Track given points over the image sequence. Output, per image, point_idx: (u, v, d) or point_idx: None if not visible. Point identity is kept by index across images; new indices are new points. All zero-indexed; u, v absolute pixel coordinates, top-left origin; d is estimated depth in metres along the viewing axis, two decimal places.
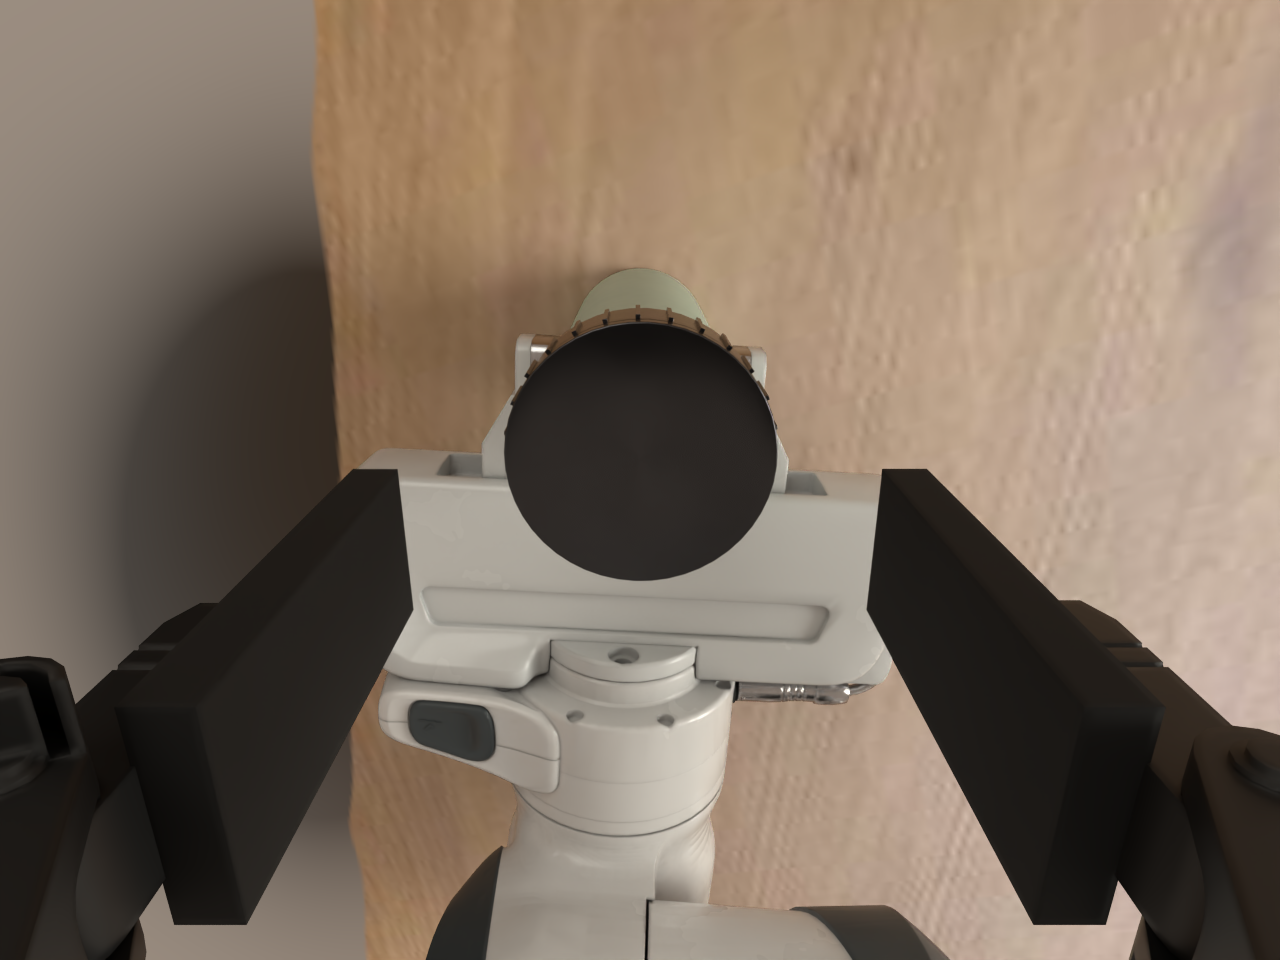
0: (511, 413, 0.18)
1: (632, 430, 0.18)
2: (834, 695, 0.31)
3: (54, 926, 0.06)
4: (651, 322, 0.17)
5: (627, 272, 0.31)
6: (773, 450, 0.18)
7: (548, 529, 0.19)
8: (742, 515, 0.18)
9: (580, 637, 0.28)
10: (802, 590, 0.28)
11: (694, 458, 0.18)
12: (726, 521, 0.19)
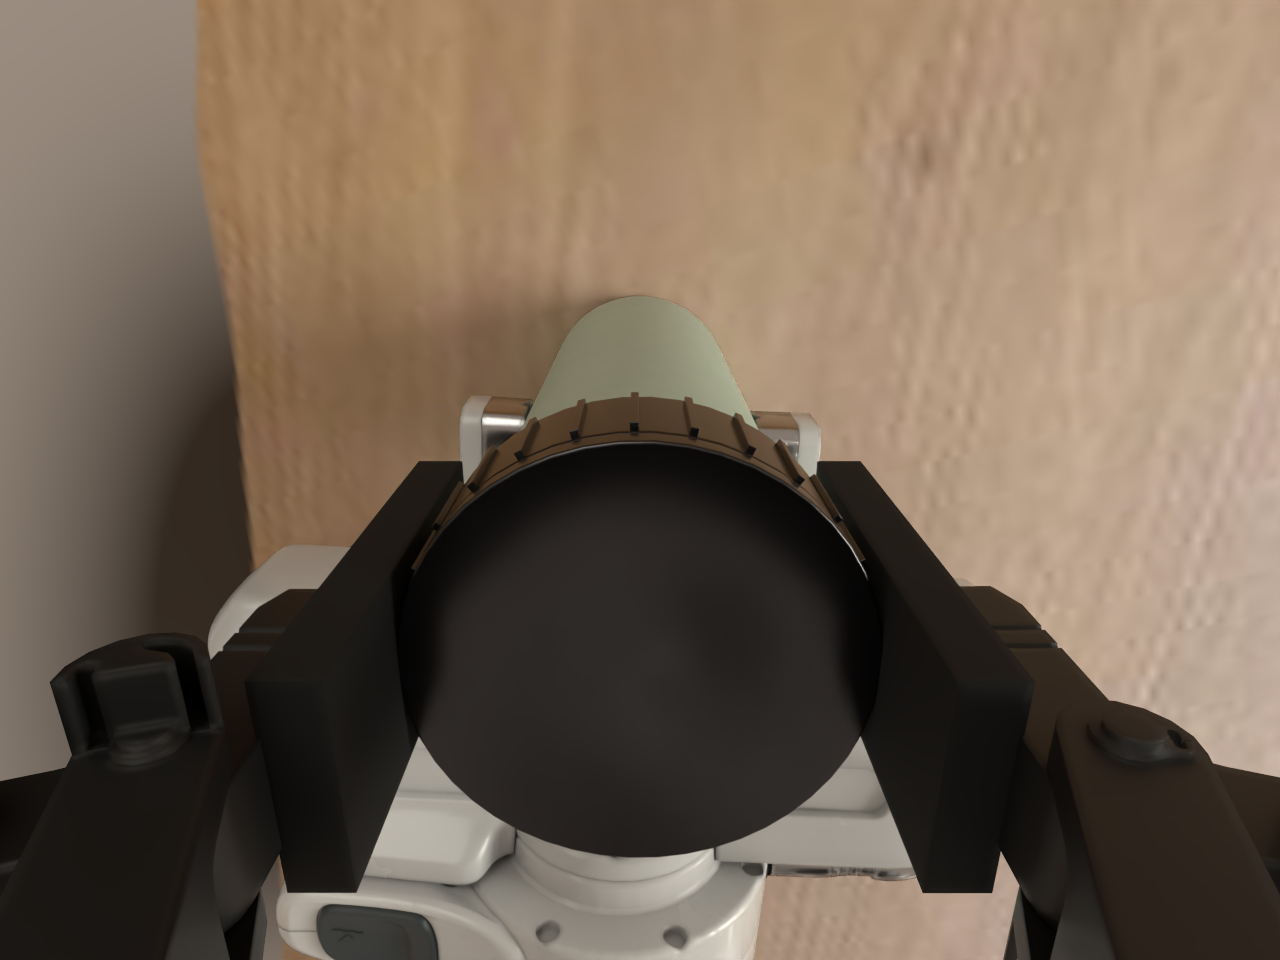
0: (406, 597, 0.10)
1: (624, 625, 0.10)
2: (900, 870, 0.23)
3: (198, 895, 0.06)
4: (659, 441, 0.09)
5: (622, 302, 0.23)
6: (875, 658, 0.10)
7: (479, 781, 0.11)
8: (816, 759, 0.11)
9: None
10: (865, 751, 0.20)
11: (734, 670, 0.10)
12: (787, 768, 0.11)
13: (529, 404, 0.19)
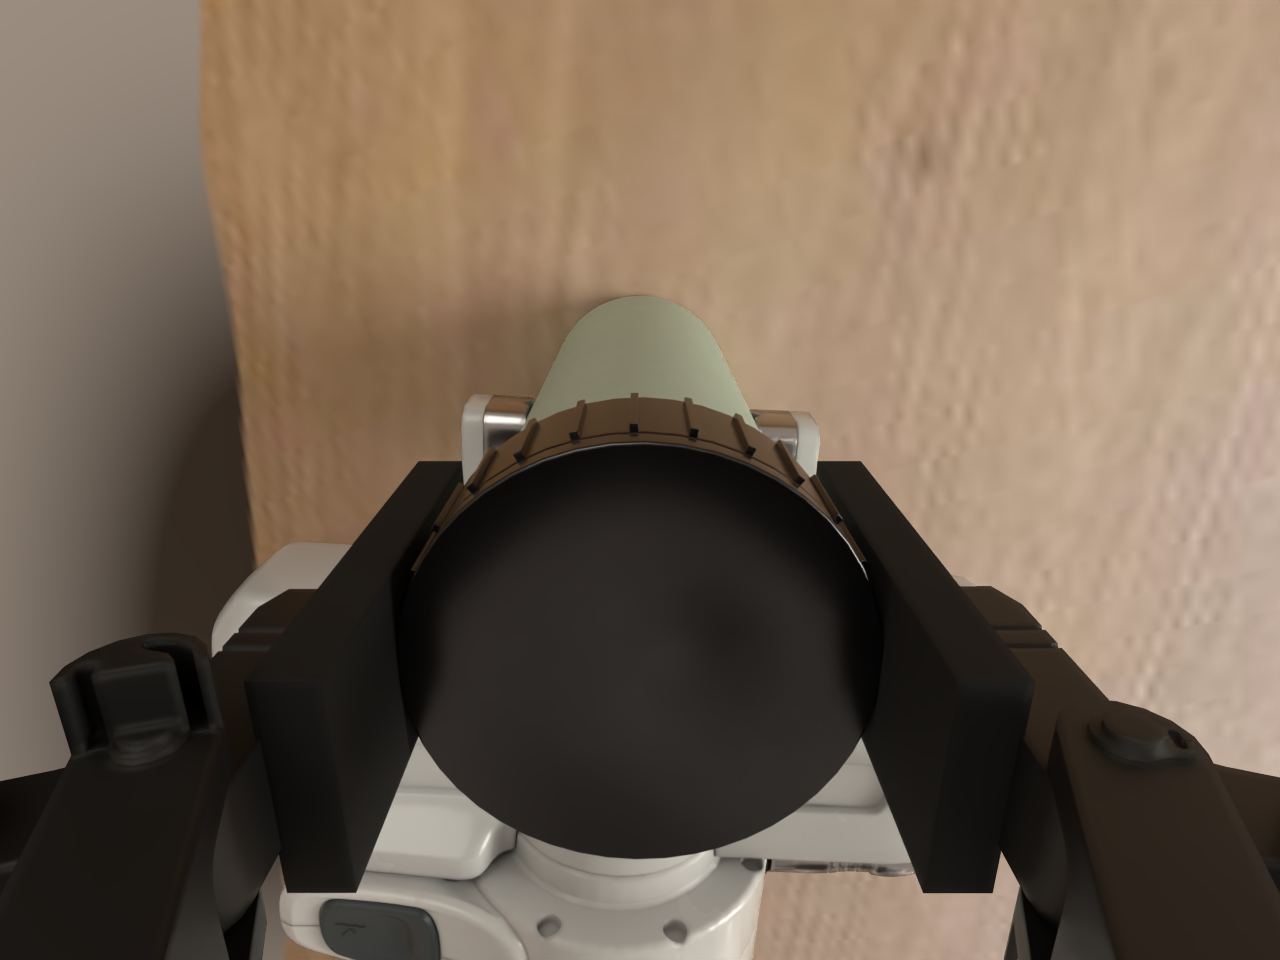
0: (625, 858, 0.11)
1: (593, 698, 0.10)
2: (899, 866, 0.23)
3: (198, 893, 0.06)
4: (410, 716, 0.10)
5: (622, 302, 0.23)
6: (547, 467, 0.09)
7: (809, 774, 0.11)
8: (694, 478, 0.09)
9: None
10: (864, 746, 0.20)
11: (609, 593, 0.10)
12: (715, 502, 0.09)
13: (530, 402, 0.19)
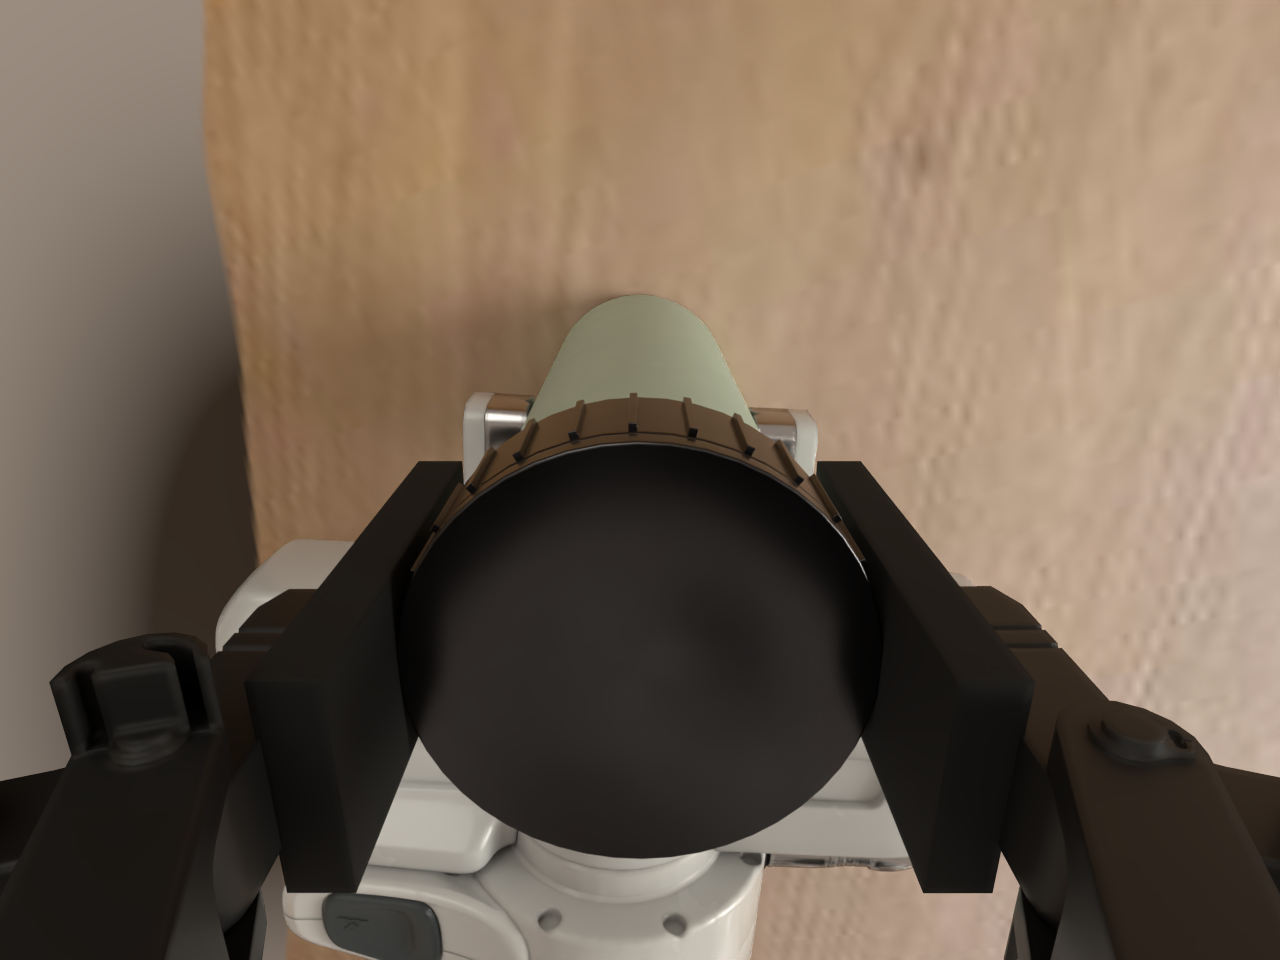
0: (879, 626, 0.10)
1: (681, 704, 0.10)
2: (897, 861, 0.23)
3: (198, 895, 0.06)
4: (748, 835, 0.11)
5: (623, 301, 0.23)
6: (465, 789, 0.11)
7: (712, 481, 0.09)
8: (427, 684, 0.10)
9: None
10: (862, 741, 0.20)
11: (563, 718, 0.10)
12: (442, 662, 0.10)
13: (531, 400, 0.19)
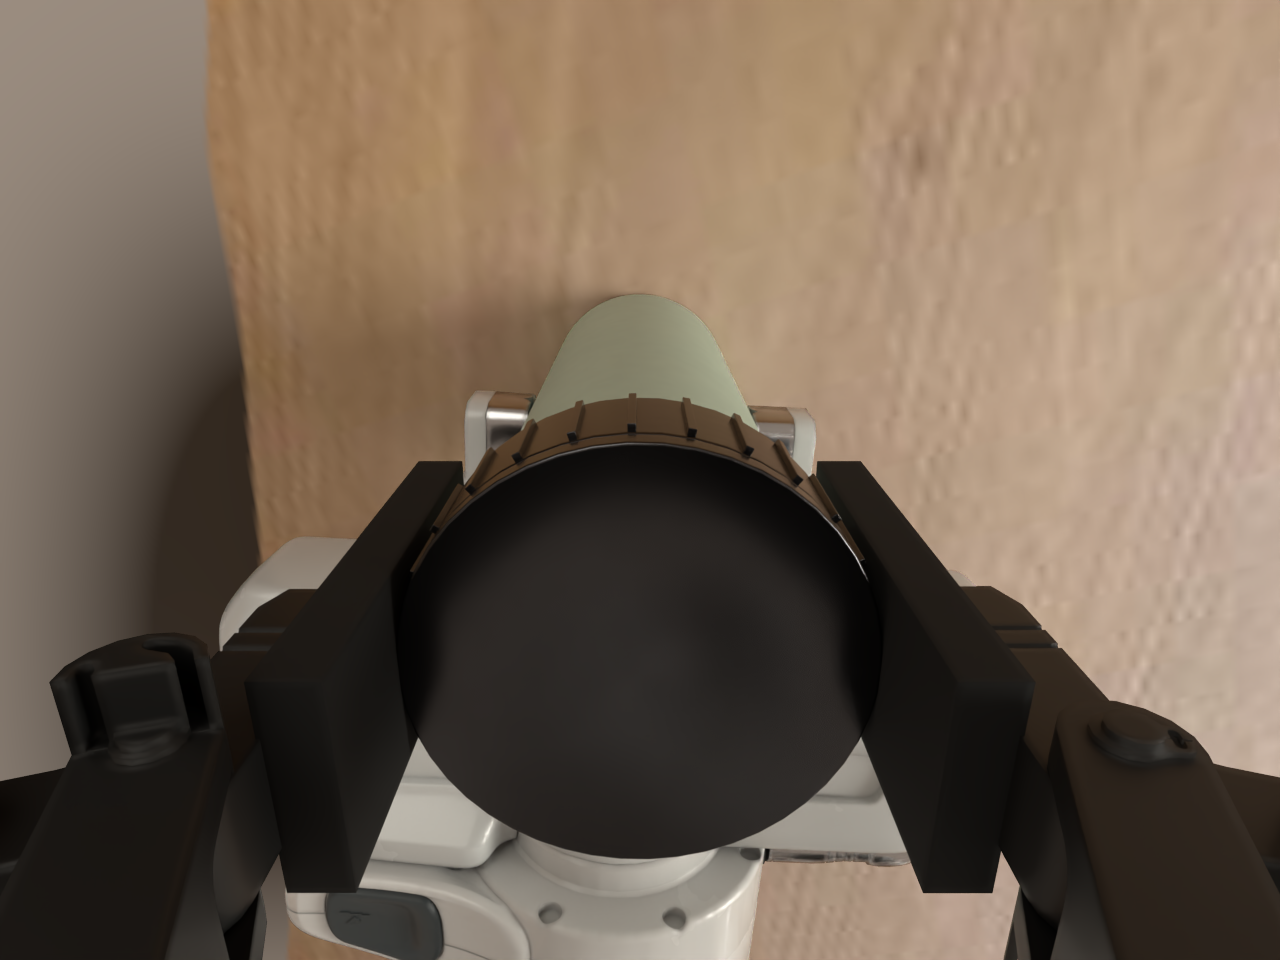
0: (507, 478, 0.09)
1: (662, 629, 0.10)
2: (895, 856, 0.23)
3: (198, 893, 0.06)
4: (819, 511, 0.09)
5: (623, 300, 0.23)
6: (820, 783, 0.11)
7: (422, 671, 0.10)
8: (707, 830, 0.11)
9: None
10: None
11: (711, 722, 0.10)
12: (680, 824, 0.11)
13: (532, 399, 0.19)
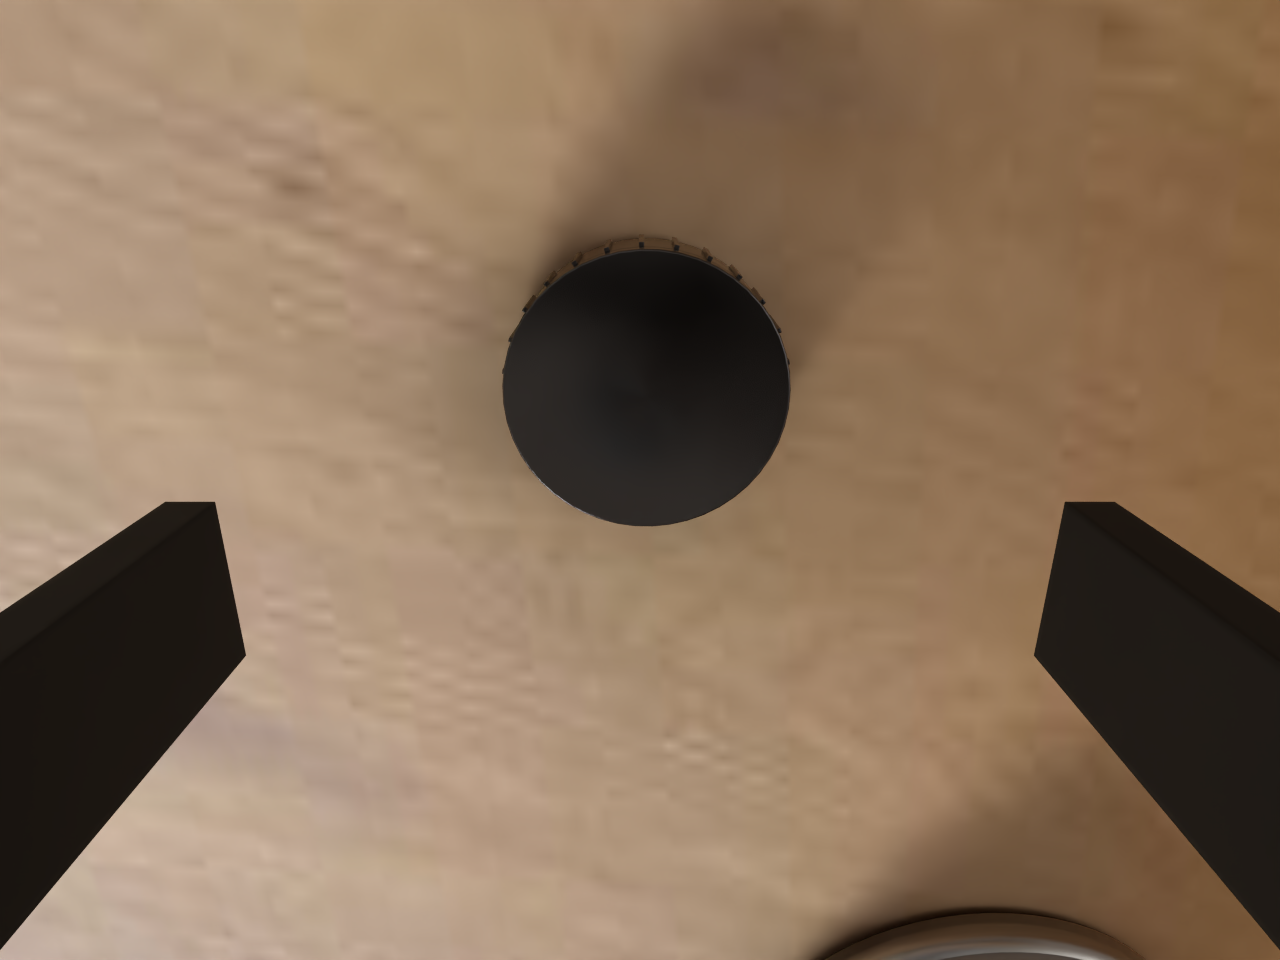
0: (570, 271, 0.16)
1: (660, 368, 0.17)
2: None
3: None
4: (750, 291, 0.16)
5: None
6: (755, 471, 0.18)
7: (518, 396, 0.17)
8: (688, 505, 0.18)
9: None
10: None
11: (689, 430, 0.17)
12: (671, 501, 0.18)
13: None
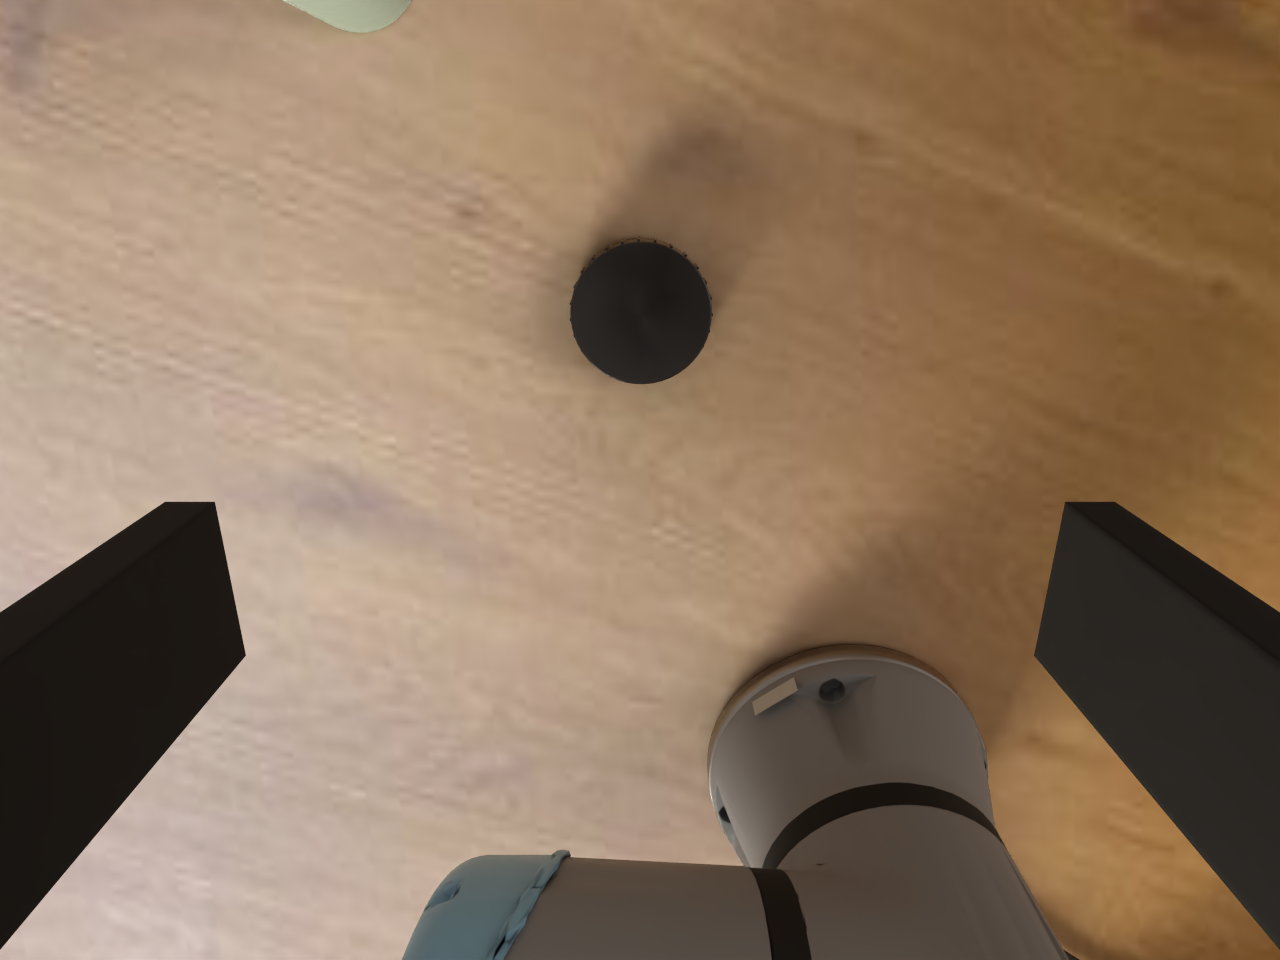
0: (605, 252, 0.34)
1: (647, 300, 0.35)
2: None
3: None
4: (690, 262, 0.34)
5: None
6: (696, 354, 0.35)
7: (578, 314, 0.35)
8: (662, 372, 0.36)
9: None
10: None
11: (662, 332, 0.35)
12: (653, 369, 0.36)
13: None
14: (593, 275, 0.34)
